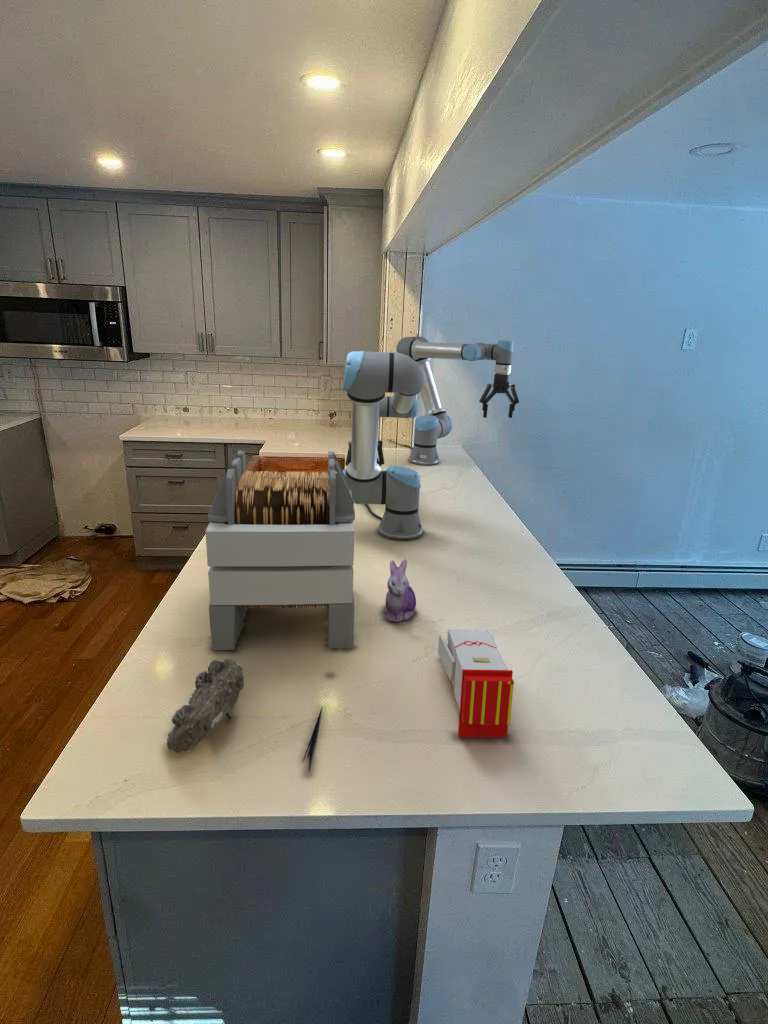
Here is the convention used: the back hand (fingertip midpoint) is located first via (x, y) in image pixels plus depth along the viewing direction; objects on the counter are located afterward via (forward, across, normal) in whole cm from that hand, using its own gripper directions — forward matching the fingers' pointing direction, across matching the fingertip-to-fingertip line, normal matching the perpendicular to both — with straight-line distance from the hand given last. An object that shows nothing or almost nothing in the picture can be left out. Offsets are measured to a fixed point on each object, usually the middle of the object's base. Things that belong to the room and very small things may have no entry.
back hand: (497, 417), depth 282 cm
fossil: (+26, -130, -167) cm, 213 cm away
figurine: (+26, -85, -136) cm, 162 cm away
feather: (+26, -110, -172) cm, 205 cm away
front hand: (+18, -76, -46) cm, 91 cm away
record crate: (+26, -113, -131) cm, 175 cm away
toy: (+26, -78, -169) cm, 188 cm away
